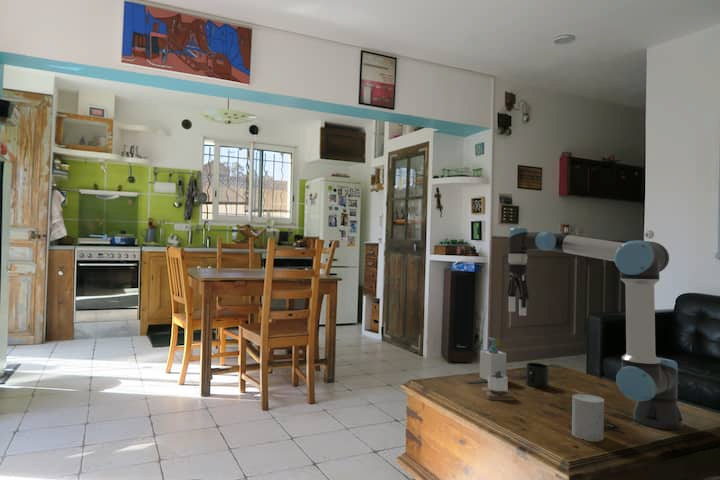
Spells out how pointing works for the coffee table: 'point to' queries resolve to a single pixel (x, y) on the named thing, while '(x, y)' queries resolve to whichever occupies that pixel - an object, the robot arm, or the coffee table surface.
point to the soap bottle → (492, 361)
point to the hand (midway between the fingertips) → (517, 313)
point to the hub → (497, 382)
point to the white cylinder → (588, 417)
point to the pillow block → (497, 392)
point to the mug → (537, 375)
